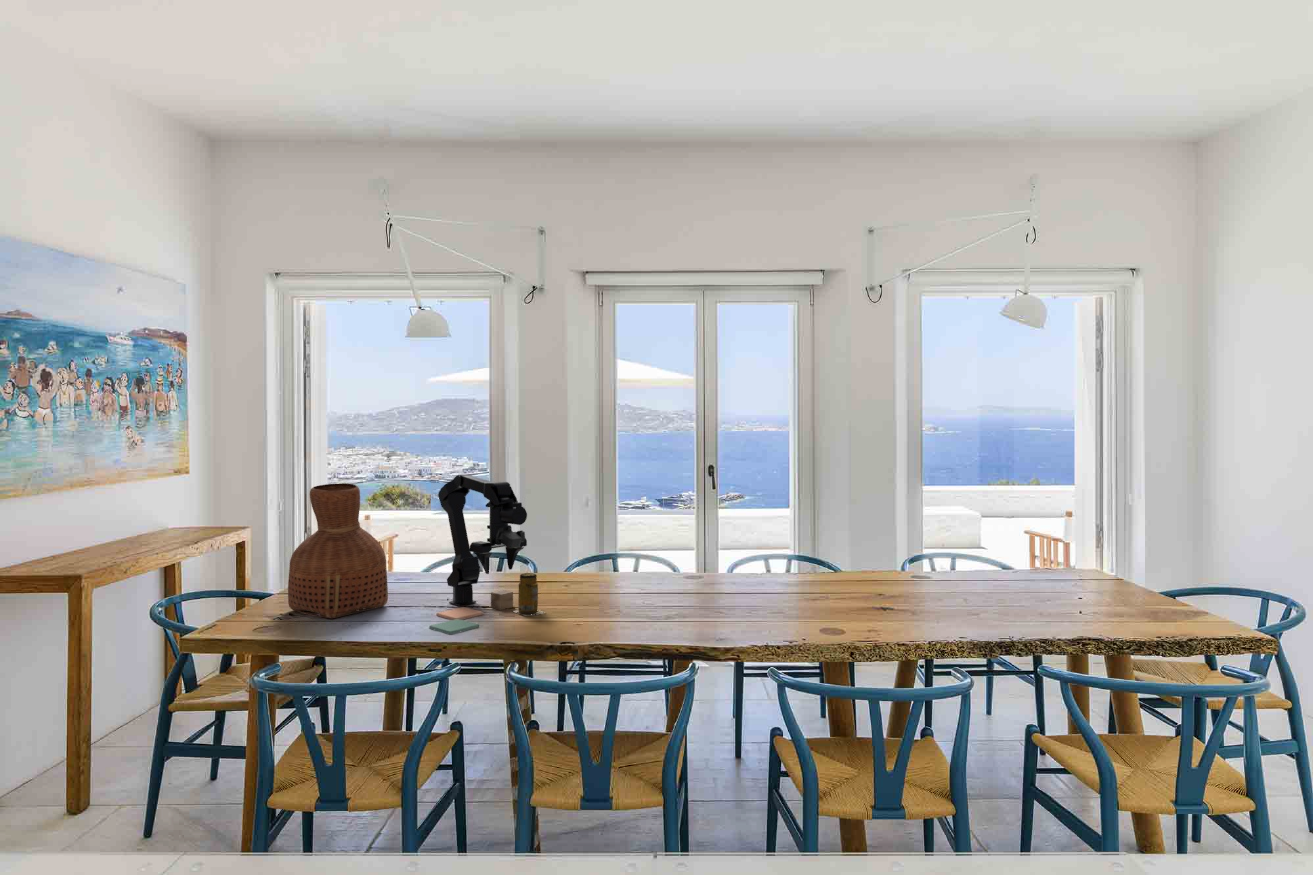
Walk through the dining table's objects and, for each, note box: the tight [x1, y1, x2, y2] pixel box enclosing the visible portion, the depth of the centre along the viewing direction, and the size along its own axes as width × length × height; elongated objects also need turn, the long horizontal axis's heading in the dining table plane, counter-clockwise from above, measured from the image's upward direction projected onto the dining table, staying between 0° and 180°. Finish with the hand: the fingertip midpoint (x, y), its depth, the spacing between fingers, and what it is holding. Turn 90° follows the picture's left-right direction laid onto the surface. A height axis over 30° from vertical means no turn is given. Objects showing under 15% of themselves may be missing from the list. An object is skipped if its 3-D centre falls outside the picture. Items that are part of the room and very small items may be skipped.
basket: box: [287, 482, 389, 619], centre depth 244 cm, size 28×28×40 cm
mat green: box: [429, 619, 480, 635], centre depth 222 cm, size 10×10×1 cm
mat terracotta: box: [435, 606, 484, 621], centre depth 237 cm, size 10×10×1 cm
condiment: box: [512, 572, 546, 617], centre depth 240 cm, size 7×8×12 cm
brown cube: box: [490, 589, 514, 611], centre depth 247 cm, size 5×5×5 cm
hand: (499, 571), depth 240 cm, fingers open, 9 cm apart
